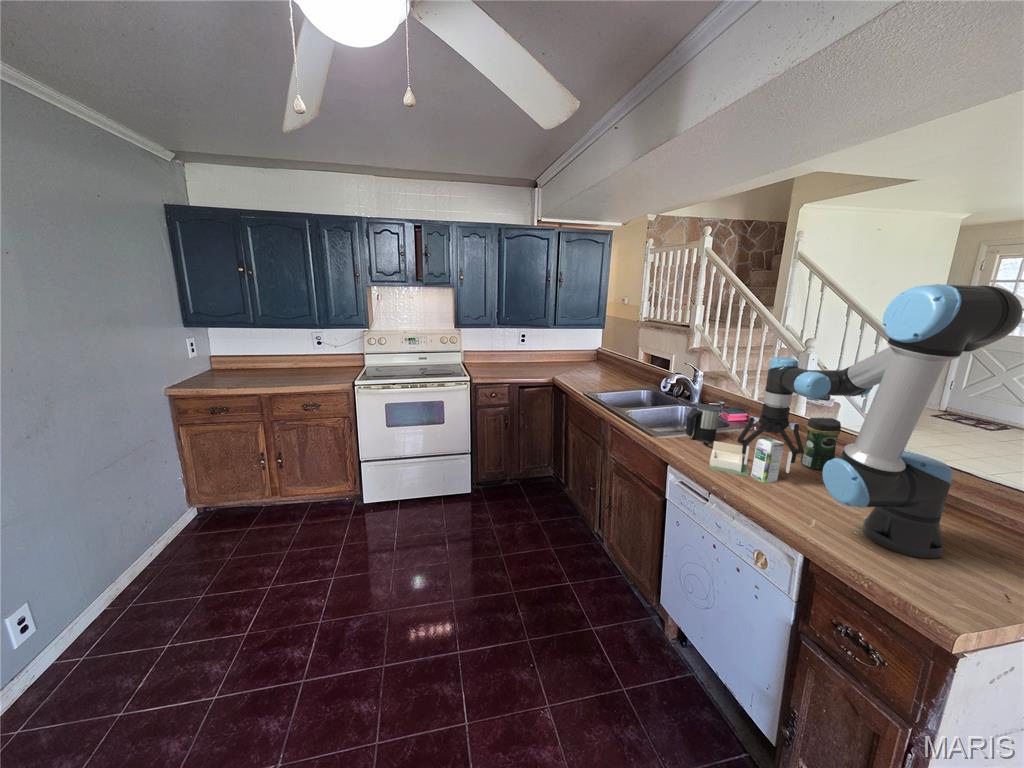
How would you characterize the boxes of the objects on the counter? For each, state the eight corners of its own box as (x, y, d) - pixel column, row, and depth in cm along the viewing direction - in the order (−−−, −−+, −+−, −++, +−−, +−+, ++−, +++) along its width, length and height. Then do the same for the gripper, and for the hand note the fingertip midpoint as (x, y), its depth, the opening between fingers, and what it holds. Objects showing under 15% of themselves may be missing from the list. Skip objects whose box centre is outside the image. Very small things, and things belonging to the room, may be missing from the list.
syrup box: (749, 477, 141) (756, 437, 138) (763, 475, 143) (769, 436, 139) (764, 484, 136) (771, 443, 132) (777, 482, 137) (785, 442, 134)
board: (746, 477, 141) (747, 476, 141) (708, 469, 147) (708, 468, 146) (747, 461, 154) (747, 460, 154) (712, 454, 160) (712, 453, 160)
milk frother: (700, 434, 183) (705, 402, 179) (735, 446, 170) (740, 412, 166) (680, 440, 175) (684, 407, 172) (715, 453, 162) (720, 417, 159)
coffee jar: (821, 462, 155) (831, 415, 151) (837, 471, 147) (847, 422, 143) (795, 461, 155) (804, 414, 151) (809, 470, 148) (819, 421, 143)
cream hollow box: (740, 472, 143) (743, 456, 142) (709, 466, 148) (711, 450, 147) (741, 461, 153) (743, 446, 152) (711, 455, 158) (713, 440, 156)
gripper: (819, 407, 131) (807, 471, 136) (735, 397, 142) (727, 455, 147) (823, 413, 124) (809, 479, 129) (734, 401, 136) (725, 463, 141)
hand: (765, 467), depth 138 cm, fingers open, 11 cm apart
